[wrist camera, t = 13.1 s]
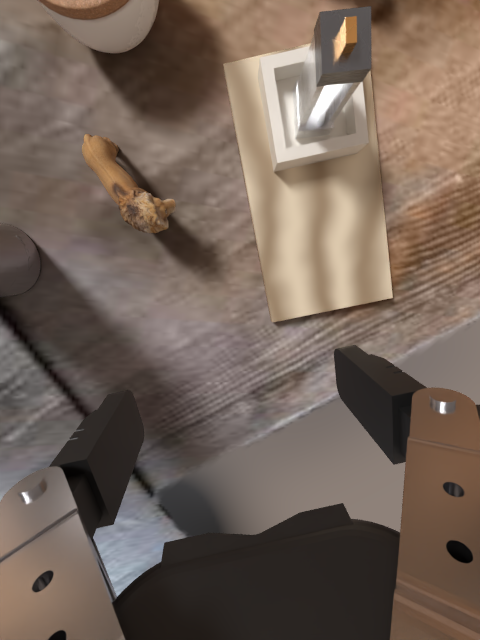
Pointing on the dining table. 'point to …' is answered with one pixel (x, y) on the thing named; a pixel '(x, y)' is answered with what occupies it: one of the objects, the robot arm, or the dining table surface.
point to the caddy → (279, 116)
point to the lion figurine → (126, 187)
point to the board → (311, 212)
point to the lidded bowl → (104, 21)
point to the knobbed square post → (332, 69)
